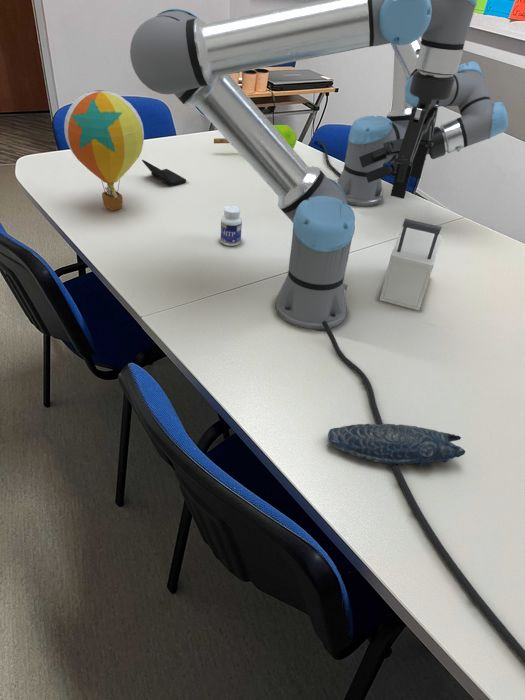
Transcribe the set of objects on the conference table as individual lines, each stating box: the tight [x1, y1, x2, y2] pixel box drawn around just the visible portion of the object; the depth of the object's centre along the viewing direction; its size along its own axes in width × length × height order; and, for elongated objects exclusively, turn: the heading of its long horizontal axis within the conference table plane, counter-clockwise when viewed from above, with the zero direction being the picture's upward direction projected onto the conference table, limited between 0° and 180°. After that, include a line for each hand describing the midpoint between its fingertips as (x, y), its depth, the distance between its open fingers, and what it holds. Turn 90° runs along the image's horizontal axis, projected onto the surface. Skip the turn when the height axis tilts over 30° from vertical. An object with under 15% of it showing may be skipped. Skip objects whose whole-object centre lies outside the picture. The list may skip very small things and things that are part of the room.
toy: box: [63, 89, 145, 212], centre depth 136 cm, size 20×20×30 cm
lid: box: [389, 218, 442, 270], centre depth 113 cm, size 16×9×8 cm, turn 159°
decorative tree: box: [213, 124, 297, 149], centre depth 186 cm, size 18×10×30 cm
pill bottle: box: [220, 205, 243, 247], centre depth 132 cm, size 5×5×9 cm
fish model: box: [327, 423, 466, 466], centre depth 81 cm, size 7×21×5 cm, turn 84°
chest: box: [379, 258, 433, 311], centre depth 119 cm, size 16×9×11 cm, turn 159°
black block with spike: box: [141, 159, 187, 187], centre depth 162 cm, size 12×7×10 cm
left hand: (405, 186), depth 108 cm, fingers open, 13 cm apart
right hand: (363, 170), depth 142 cm, fingers open, 13 cm apart
